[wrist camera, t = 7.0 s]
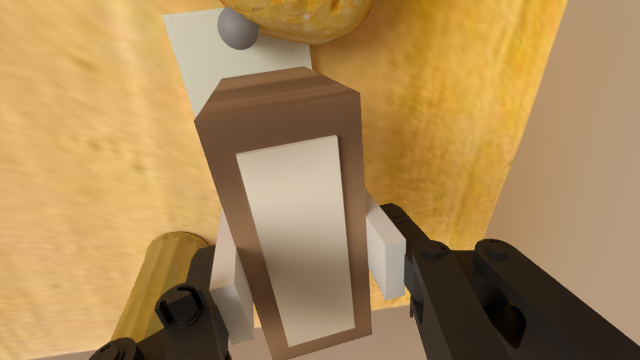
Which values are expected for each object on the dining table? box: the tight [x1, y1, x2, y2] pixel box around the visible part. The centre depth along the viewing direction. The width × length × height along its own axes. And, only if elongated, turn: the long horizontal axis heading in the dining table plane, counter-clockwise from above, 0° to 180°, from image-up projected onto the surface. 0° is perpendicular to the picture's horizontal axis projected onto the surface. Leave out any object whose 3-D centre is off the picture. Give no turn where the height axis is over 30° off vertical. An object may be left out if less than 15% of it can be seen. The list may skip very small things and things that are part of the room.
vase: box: [110, 232, 208, 343], centre depth 23 cm, size 6×6×14 cm
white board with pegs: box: [162, 6, 312, 118], centre depth 24 cm, size 10×20×6 cm, turn 7°
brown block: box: [194, 66, 372, 360], centre depth 16 cm, size 12×5×10 cm, turn 7°
